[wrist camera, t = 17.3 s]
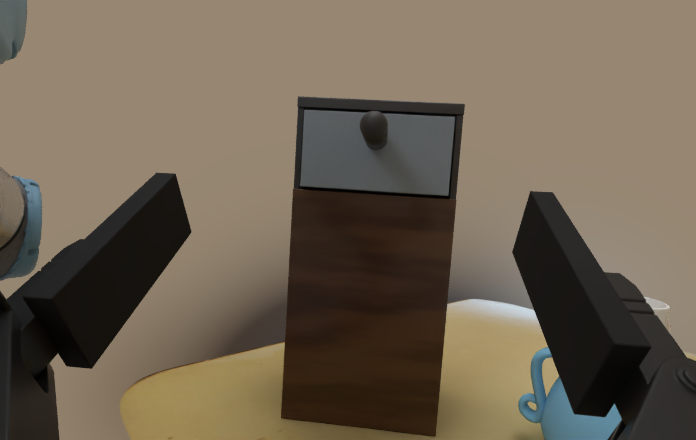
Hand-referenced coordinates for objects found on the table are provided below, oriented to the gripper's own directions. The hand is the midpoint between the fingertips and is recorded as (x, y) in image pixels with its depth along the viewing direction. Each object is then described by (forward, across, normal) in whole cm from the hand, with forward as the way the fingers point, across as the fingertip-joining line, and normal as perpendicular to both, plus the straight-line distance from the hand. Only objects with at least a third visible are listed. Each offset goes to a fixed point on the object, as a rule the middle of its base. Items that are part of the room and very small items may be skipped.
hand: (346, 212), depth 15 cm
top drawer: (+20, 0, -10) cm, 22 cm away
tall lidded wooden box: (+14, 0, -35) cm, 37 cm away
